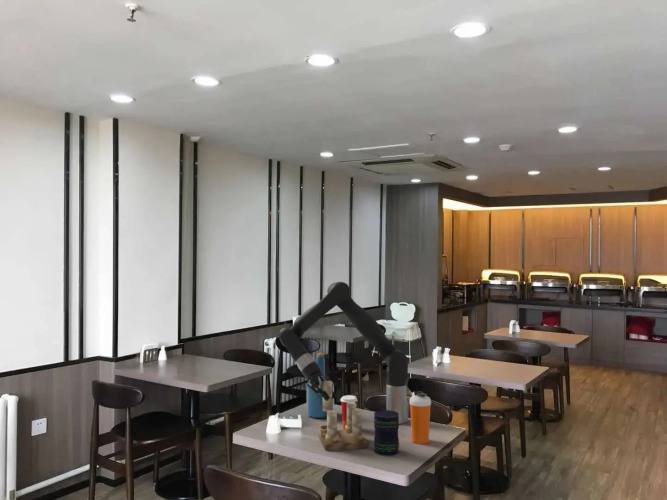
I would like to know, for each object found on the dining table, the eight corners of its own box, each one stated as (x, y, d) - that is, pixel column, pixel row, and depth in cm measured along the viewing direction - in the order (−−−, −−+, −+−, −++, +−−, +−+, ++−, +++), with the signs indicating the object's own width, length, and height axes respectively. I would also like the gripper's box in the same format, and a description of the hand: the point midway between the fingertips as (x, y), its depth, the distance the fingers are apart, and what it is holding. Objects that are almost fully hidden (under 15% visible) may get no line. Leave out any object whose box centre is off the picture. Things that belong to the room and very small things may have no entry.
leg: (329, 408, 235) (329, 380, 235) (333, 410, 231) (333, 382, 232) (321, 409, 233) (321, 381, 234) (325, 412, 230) (325, 383, 230)
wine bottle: (333, 411, 275) (333, 350, 275) (334, 418, 261) (334, 355, 262) (305, 411, 274) (305, 351, 274) (305, 419, 261) (305, 355, 261)
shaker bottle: (417, 446, 223) (417, 396, 224) (405, 439, 231) (405, 392, 232) (435, 442, 227) (435, 394, 228) (422, 436, 235) (422, 389, 236)
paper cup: (358, 426, 250) (358, 395, 250) (357, 431, 242) (357, 399, 242) (341, 425, 251) (341, 394, 251) (339, 431, 243) (339, 399, 243)
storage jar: (404, 452, 216) (404, 406, 216) (384, 457, 210) (384, 410, 211) (388, 445, 224) (388, 401, 224) (368, 450, 219) (368, 404, 219)
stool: (357, 434, 238) (357, 401, 238) (366, 447, 221) (366, 411, 222) (318, 436, 235) (318, 403, 235) (325, 450, 218) (325, 414, 218)
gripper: (303, 363, 231) (326, 396, 224) (322, 358, 243) (345, 389, 236) (293, 374, 234) (316, 407, 227) (313, 369, 246) (335, 400, 239)
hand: (331, 398), depth 231 cm, fingers closed on leg, 4 cm apart
